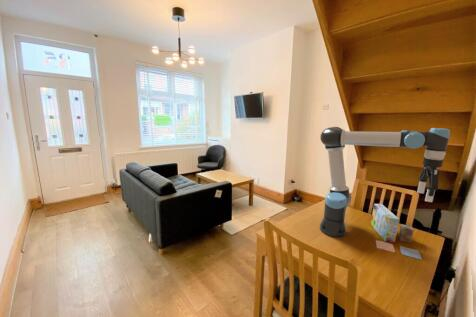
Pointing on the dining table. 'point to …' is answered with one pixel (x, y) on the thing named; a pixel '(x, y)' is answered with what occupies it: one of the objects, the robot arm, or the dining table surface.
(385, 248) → the terracotta tile
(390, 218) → the snack box
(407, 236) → the block
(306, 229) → the dining table surface
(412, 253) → the slate tile
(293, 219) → the dining table surface
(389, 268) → the dining table surface
